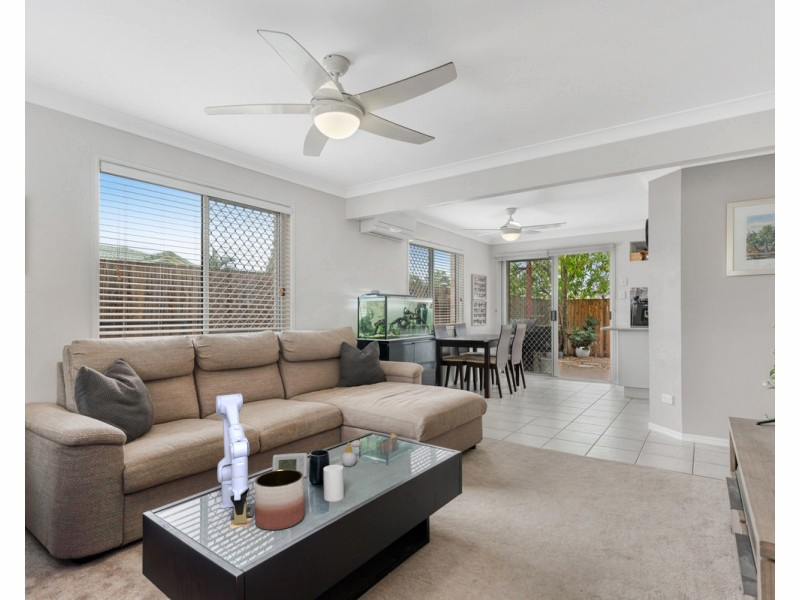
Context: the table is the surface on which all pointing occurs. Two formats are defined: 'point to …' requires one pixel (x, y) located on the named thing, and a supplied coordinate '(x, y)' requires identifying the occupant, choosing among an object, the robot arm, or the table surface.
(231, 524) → the coaster
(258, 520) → the planter
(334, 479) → the cup
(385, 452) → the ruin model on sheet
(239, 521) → the brushed brass bar
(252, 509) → the grey square frame
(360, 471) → the table surface
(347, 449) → the perfume bottle
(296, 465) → the digital clock
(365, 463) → the table surface
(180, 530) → the table surface
